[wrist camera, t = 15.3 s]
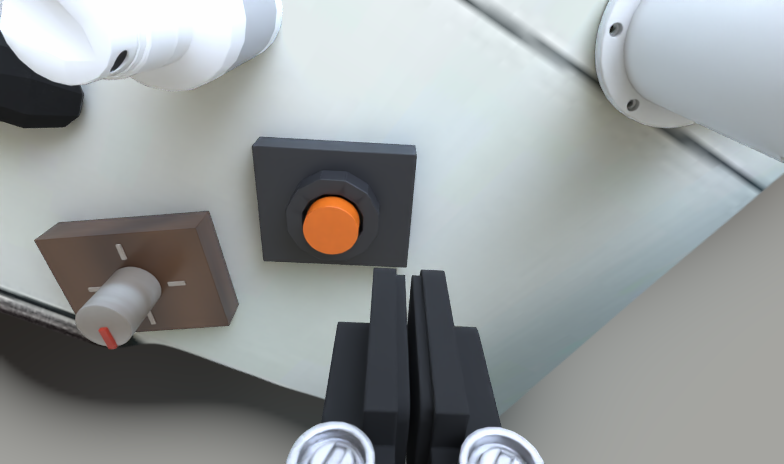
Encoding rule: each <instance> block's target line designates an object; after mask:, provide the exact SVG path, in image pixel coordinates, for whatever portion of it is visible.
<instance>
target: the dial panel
mask: <svg viewBox="0 0 784 464" xmlns="http://www.w3.org/2000/svg"><path fill="white" fill-rule="evenodd" d="M34 241H35V243H36V245H37V246H38V248H39V250H40V252H41V254H42V255H43V257H44V259H45V261H46V262H47V264H48V266H49V268H50V270H51V271H52V273H53V275H54V277H55V279H56V280H57V282H58V284H59V286H60V287H61V289H62V291H63V293H64V295H65V296H66V298H67V300H68V302H69V304H70V305H71V307H72V309H73V311H74V312H75V314H77V312H78V311H79V310H80V309H81V308H82V307H83V306H84V304H85V303H86V302H87V301H88V300H89V299H90V298H91V297H92V296H93V295H94V294H95V293H96V292H97V291H98V290H99V289H100V287H101V286H102V285H103V284H104V283H105V282H106V281H107V280H108V279H109V278H110V277H111V276H112V275H113V274H114V273H115V272H116V271H117V270H118V269H121V268H124V267H137V268H141V269H143V270H146V271H147V272H149V273H151V274H152V275H153V276H154V277H155V278H156V279H157V280H158V282H159V284H160V286H161V296H160V298H159V299H158V301H157V302H156V304H155V305H154V306H153V308H152V309H151V310H150V312H149V313H148V315H147V316H146V317H145V319H144V320H143V322H142V323H141V324H140V326H139V327H138V328H137V330H136V331H135V332H143V331H158V330H173V329H188V328H203V327H218V326H229V325H230V323H231V320H232V318H233V316H234V314H235V312H236V310H237V307H238V305H239V303H238V300H237V297H236V294H235V291H234V288H233V285H232V282H231V278H230V275H229V272H228V269H227V266H226V263H225V260H224V257H223V253H222V250H221V247H220V244H219V241H218V238H217V235H216V232H215V228H214V225H213V222H212V219H211V216H210V213H209V211H203V212H190V213H177V214H164V215H151V216H138V217H125V218H111V219H98V220H85V221H72V222H59V223H57V224H56V225H54V226H53V227H52V228H50V229H49V230H48V231H46V232H45V233H44V234H42V235H41V236H39V237H38V238H37V239H35V240H34Z"/></svg>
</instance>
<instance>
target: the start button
mask: <svg viewBox="0 0 784 464" xmlns="http://www.w3.org/2000/svg"><path fill="white" fill-rule="evenodd" d="M359 223H360V219H359V214H358V212H357V210H356V208H355V207H354V206H353V205H352V204H351V203H350V202H348V201H347V200H345V199H343V198H340V197H335V196H328V197H323V198H320V199H318V200H316V201H315V202H314V203H313V204H312V205H311V206H310V208H309V209H308V212H307V215H306V218H305V220H304V223H303V234H304V237H305V239H306V241H307V242H308V243H309V245H310V246H311V247H313V248H314V249H315V250H317V251H319V252H322V253H325V254H339V253H343V252H345V251H347V250H348V249H350V248H351V247H352V246H353V245H354V244H355V242H356V240H357V237H358V231H359Z"/></svg>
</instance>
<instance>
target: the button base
mask: <svg viewBox="0 0 784 464" xmlns="http://www.w3.org/2000/svg"><path fill="white" fill-rule="evenodd" d="M252 151H253V161H254V171H255V181H256V191H257V200H258V210H259V220H260V230H261V240H262V250H263V260H264V261H275V262H297V263H319V264H341V265H363V266H385V267H407V258H408V247H409V236H410V225H411V214H412V203H413V192H414V181H415V170H416V159H417V153H416V147H415V145H399V144H381V143H362V142H344V141H326V140H308V139H290V138H272V137H259V138H258V139H257V141H256V142H255V143H254V144H253V146H252ZM328 196H335V197H340V198H343V199H345V200H347V201H348V202H350V203H351V204H352V205H353V206H354V207H355V208H356V210H357V212H358V214H359V219H360V223H359V231H358V237H357V240H356V242H355V244H354V245H353V246H352V247H351V248H350V249H348V250H347V251H345V252H343V253H339V254H325V253H322V252H319V251H317V250H315V249H314V248H313V247H311V246H310V245H309V243H308V242H307V241H306V239H305V237H304V234H303V223H304V220H305V218H306V215H307V212H308V209H309V208H310V206H311V205H312V204H313V203H314V202H315V201H316V200H318V199H320V198H323V197H328Z"/></svg>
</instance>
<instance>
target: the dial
mask: <svg viewBox="0 0 784 464" xmlns="http://www.w3.org/2000/svg"><path fill="white" fill-rule="evenodd" d="M160 296H161V286H160V284H159V282H158V280H157V279H156V278H155V277H154V276H153V275H152V274H151V273H149V272H147V271H146V270H143V269H141V268H137V267H124V268H121V269H118V270H117V271H116V272H115V273H114V274H113V275H112V276H111V277H110V278H109V279H108V280H107V281H106V282H105V283H104V284H103V285H102V286H101V287H100V289H99V290H98V291H97V292H96V293H95V294H94V295H93V296H92V297H91V298H90V299H89V300H88V301H87V302H86V303H85V304H84V306H83V307H82V308H81V309H80V310H79V311H78V312H77V314H76V317H75V322H76V326H77V328H78V330H79V331H80V332H81V333H82V334H83V335H84V336H85V337H86V338H87V339H89V340H91V341H93V342H95V343H97V344H100V345H104V346H107V347H108V348H109V349H116V348H117V346H119V345H122V344H124V343H126V342H127V341H129V339H130V338H131V337H132V335H133V334H134V333H135V331H136V330H137V328H138V327H139V326H140V324H141V323H142V322H143V320H144V319H145V317H146V316H147V315H148V313H149V312H150V310H151V309H152V308H153V306H154V305H155V304H156V302H157V301H158V299H159V298H160Z"/></svg>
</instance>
